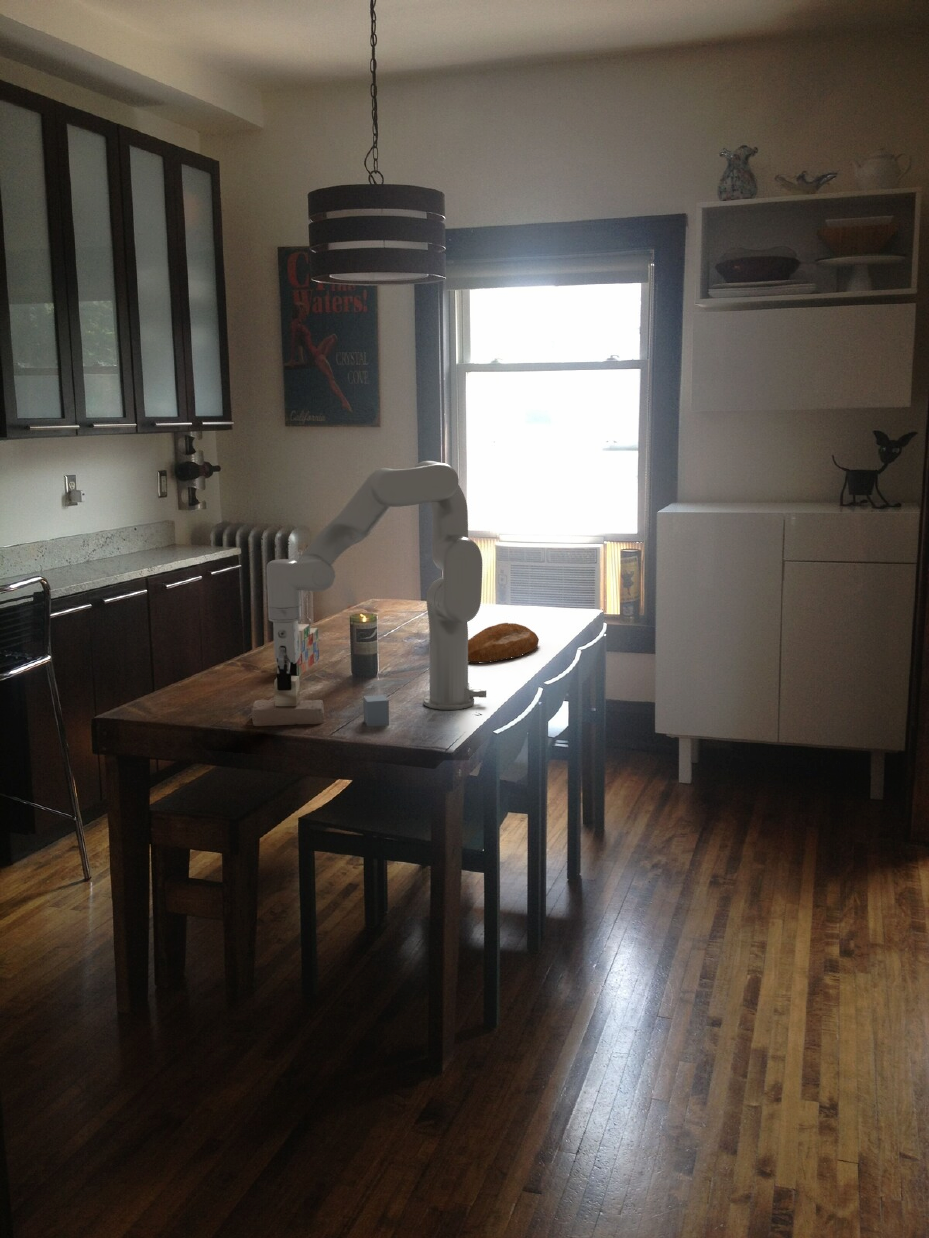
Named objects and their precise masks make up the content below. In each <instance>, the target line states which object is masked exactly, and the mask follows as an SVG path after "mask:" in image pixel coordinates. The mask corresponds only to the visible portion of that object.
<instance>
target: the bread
mask: <svg viewBox="0 0 929 1238" xmlns="http://www.w3.org/2000/svg"><path fill="white" fill-rule="evenodd" d="M539 640H540V639H539V636H538V635H537V634H536V633H535V632H534V631H533V630H531V629H530V628H528V627H527V626H525V625H522V624H519V623H518V624H517V623H516V622H515V623H513V622H512V623H510V622H501V623H498V624H496V625H491V626H488V627H486V628H484V629H482V630H481V631H479V632H478V633H476V634H474V635H473V636H472V637H470V638H468V663H471V662H472V663H474V664H480V663H479V662H487V663H491V662H490V661H494V662H497V661H496V660H499V661H502V660H501V659H505V660H507V659H506V658H510V659H512V658H511V657H515V658H518V657H521V656H523V655H522V654H524V655H525V653H526V654H527V653H530V652H531V651H533V650H535V649H536V648H537V647H538V645H539ZM520 655H521V656H520ZM517 656H518V657H517Z"/></svg>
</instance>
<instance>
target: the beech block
mask: <svg viewBox="0 0 929 1238" xmlns="http://www.w3.org/2000/svg"><path fill="white" fill-rule="evenodd" d="M273 684H274V685H273V687H274V688H273V691H274V701H275V706H297V704H298V703H299V701H301V698H300V696H301V693H300V687H301V686H300V676H291V684H292V689H291V690H285V691H279V690H278V689H277V677H276V678H275V679H274V681H273Z"/></svg>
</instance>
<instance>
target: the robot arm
mask: <svg viewBox="0 0 929 1238" xmlns="http://www.w3.org/2000/svg"><path fill="white" fill-rule="evenodd" d="M459 483H460V482H459V476H458V474H457V471H456V470H455V469H454V468H453V466H451V465H449V464H447V463H444V462H438V461H434V460H423V461H420V462H419V463H417V464H415V465H414V467H410V468H404V469H403V468H402V469H401V468H400V469H393V468H387V467H381V468H378V469H376V470H374V471H373V472H371V473H370V474H369V475H368V477H367V478H366V479H365V480H364V482H363V483H362V484H361V486H360V487H359V489H358V490H356V492H355V493H354V494H353V496H352V497H351V498H350V500H349V501H348V502H347V504H346V505H345V506H344V507H343V508H342V510H341V511H340V512H339V513H338V515H337V516H335V517H334V518H333V519H332V520H331V521H330V522H329V523H327V525H326V526H325V527H324V528H323V529H322V530H321V531H320V532H319V533H318V534H317V535H316V536H315V537H314V538H312V540H311V541H310V543H309V544H308V545H307V547H306V548H305V550H304V551H303V552H302V553H301V554H300V556H299V558H298V559H297V561H296V559H295V560H294V559H289V558H288V559H287V558H282V559H281V558H280V559H273V560H271V561H269V562H268V563H267V564H266V586H267V588H266V591H267V613H268V616H267V617H268V621H270V622H272V623H273V625H272V626H273V629H272V631H273V651H274V662H275V663H276V664H277V667H276V678H277V689H278V690H279V691H285V690H291V689H292V684H291V676H297V663H296V662H297V661H298V659H299V657H300V654H301V652H300V638H299V626H298V624H299V621H300V620H302V601H301V598H302V597H301V595H302V594H301V591H302V592H303V591H305V592H323V591H326V590H328V589H330V588H331V587H332V586H333V585H334V583H335V582H336V571H335V568H334V567H333V564H334V563H335V562H336V561H337V560H338V558H339V557H340V556H342V554H343V553H344V552H346V550H347V549H349V548H350V547H352V546H354V545H356V544H359V543H361V542H362V541H364V540H365V539H367V538H368V537H369V536H370V535H371V534H372V533H373V531H374V529H375V528H376V527H377V526H378V525H379V523H380V522H381V521H382V520H383V518H384V517H385V516H386V514H387V513H388V511H389V510H390V509H391V508H401V507H410V506H415V505H422V504H429V505H430V508H431V514H432V516H431V517H432V537H431V538H432V539H431V540H432V541H431V559H432V562H433V564H434V565H435V567H436V568H437V569H439V570H440V571H442V572H443V576H442V577H439V578H437V579H435V580H433V581H432V583H431V584H430V585H429V587H428V589H427V593H426V609H427V617H428V631H429V632H428V635H429V641H428V646H429V647H428V648H429V649H428V654H429V655H428V656H429V661H428V662H429V663H428V664H429V666H428V667H429V672H428V673H429V694H428V695H427V696H425V697H424V698H423V699H422V700H423V702H422V703H423V705H424V706H425V707H428V708H429V709H432V710H433V709H434V710H442V711H444V710H445V711H455V710H463V708H464V709H467V708H470V707H472V706H474V704H475V698H487V689H482V688H481V687H478V688H477V687H476V688H473V687H470V683H469V662H468V640H469V626H468V622H470V621H471V620H472V621H473V619H474V618H475V617H476V616H477V614H478V613H479V610H480V609H481V603H482V588H483V555H482V553H481V549H480V547H479V546H478V544H477V543H476V542H475V541H474V540H473V539H470V538H469V516H468V515H469V514H468V503H467V500H466V497H465V494H464V491H463V489H462V488H461V486H460V484H459Z"/></svg>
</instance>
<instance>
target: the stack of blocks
mask: <svg viewBox="0 0 929 1238" xmlns="http://www.w3.org/2000/svg"><path fill="white" fill-rule="evenodd" d="M298 626H299V638H300V652H301V654H300V657H299V659H298V661H297V662H296V663H297V676H299V677H301V676H302V675H303V674H305V672H307V670H309V668H311V667H312V666H313V665H314V664H315V663H316V662H317V661H318V660H319V659H320V643H319V642H320V641H319V628H317V627H311V625H310V624H309V623H300V624H299V623H298ZM301 674H302V675H301Z"/></svg>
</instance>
